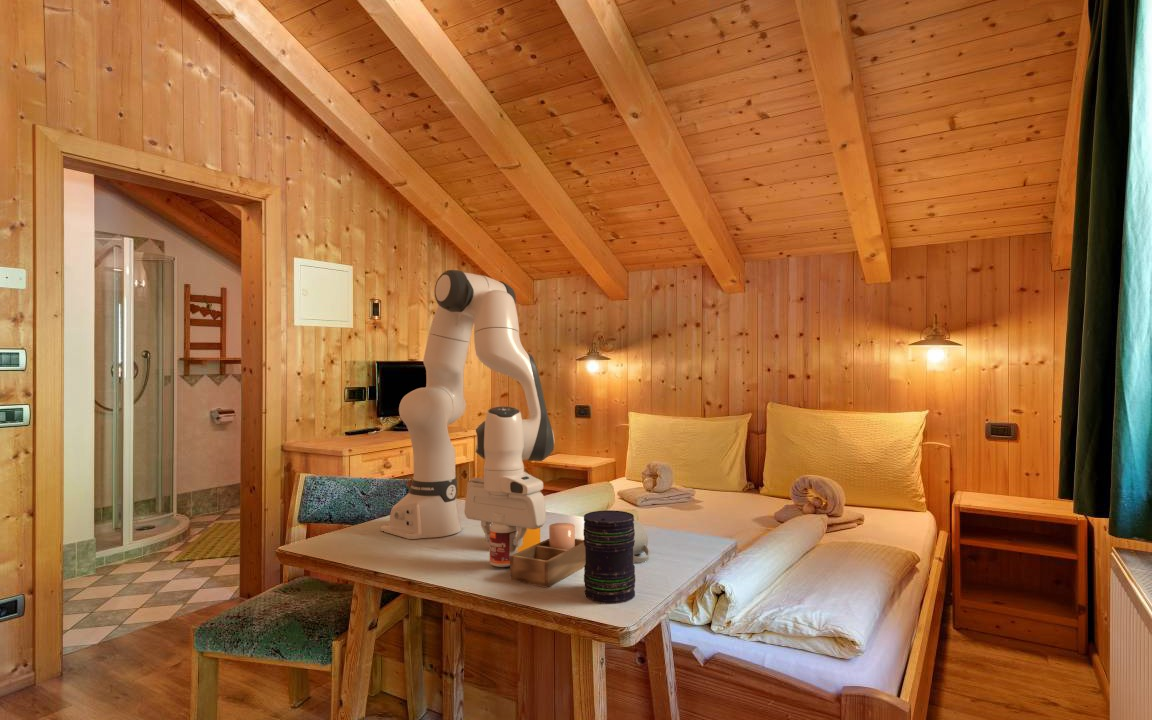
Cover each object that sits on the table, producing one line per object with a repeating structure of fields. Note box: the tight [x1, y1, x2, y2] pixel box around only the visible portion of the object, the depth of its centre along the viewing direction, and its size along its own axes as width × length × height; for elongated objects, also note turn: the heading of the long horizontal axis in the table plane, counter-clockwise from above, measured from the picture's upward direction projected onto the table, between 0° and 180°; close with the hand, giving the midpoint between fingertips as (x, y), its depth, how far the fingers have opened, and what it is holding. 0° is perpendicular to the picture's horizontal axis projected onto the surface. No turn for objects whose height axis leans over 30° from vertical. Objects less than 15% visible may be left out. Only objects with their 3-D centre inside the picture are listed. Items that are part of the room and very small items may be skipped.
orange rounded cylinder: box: [548, 522, 576, 550], centre depth 137 cm, size 6×6×8 cm
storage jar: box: [582, 509, 636, 605], centre depth 119 cm, size 10×10×15 cm
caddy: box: [509, 538, 586, 588], centre depth 133 cm, size 9×18×5 cm, turn 150°
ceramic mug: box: [633, 519, 651, 564], centre depth 142 cm, size 11×8×8 cm
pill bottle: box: [489, 513, 518, 568], centre depth 137 cm, size 6×6×11 cm
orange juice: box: [518, 465, 541, 552], centre depth 153 cm, size 8×9×20 cm
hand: (503, 543), depth 137 cm, fingers closed on pill bottle, 6 cm apart
